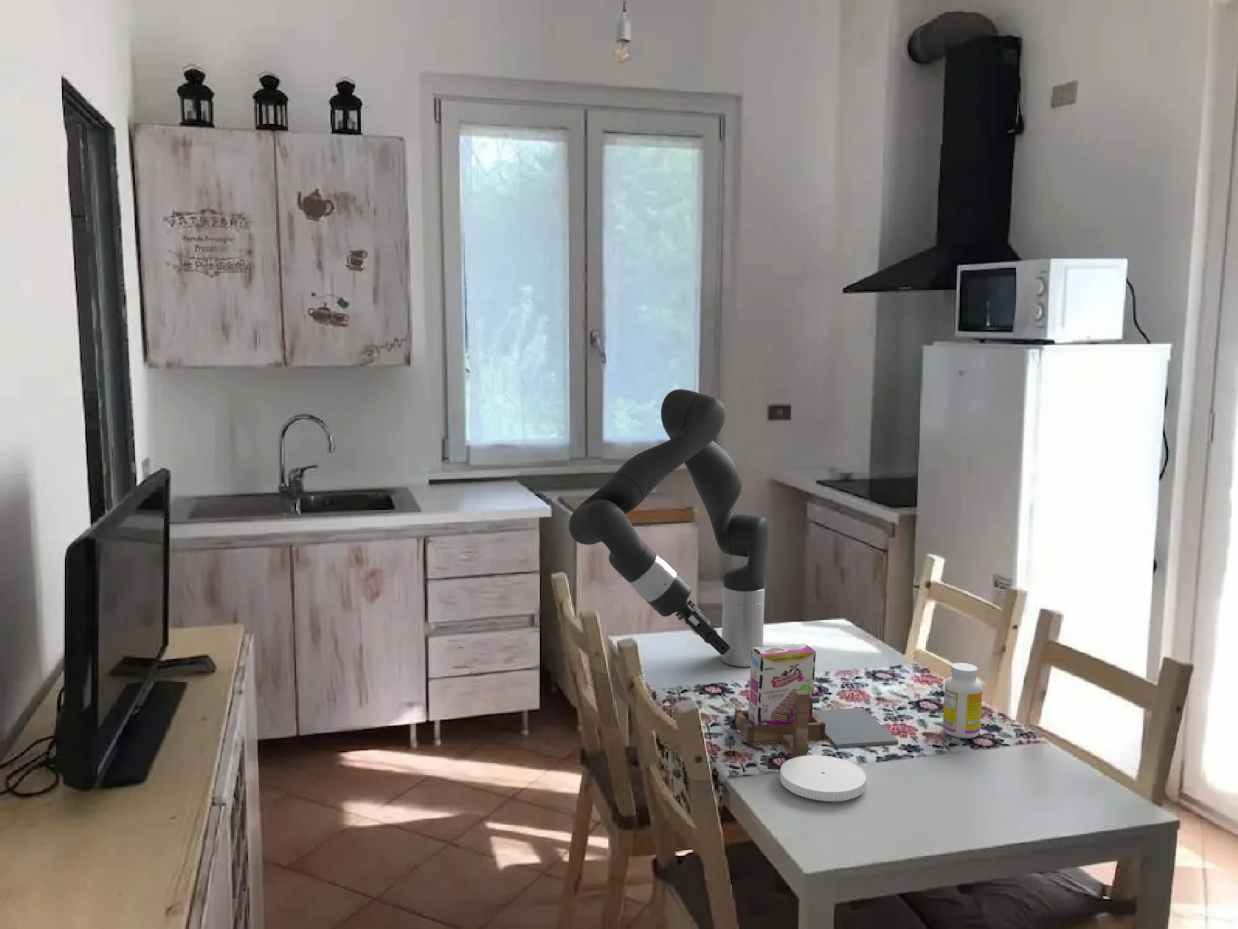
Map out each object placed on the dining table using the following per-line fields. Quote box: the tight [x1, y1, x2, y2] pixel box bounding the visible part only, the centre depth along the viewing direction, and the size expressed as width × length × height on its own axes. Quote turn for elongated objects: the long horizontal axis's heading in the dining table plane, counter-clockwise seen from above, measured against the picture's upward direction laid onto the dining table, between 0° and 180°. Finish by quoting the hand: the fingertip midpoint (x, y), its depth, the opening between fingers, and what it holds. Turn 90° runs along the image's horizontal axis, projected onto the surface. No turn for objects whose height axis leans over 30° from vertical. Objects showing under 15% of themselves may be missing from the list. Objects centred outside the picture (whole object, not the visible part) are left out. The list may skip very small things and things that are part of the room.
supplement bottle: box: [942, 662, 983, 739], centre depth 194 cm, size 7×7×13 cm
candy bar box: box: [748, 643, 817, 726], centre depth 192 cm, size 11×5×16 cm, turn 107°
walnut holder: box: [734, 690, 826, 758], centre depth 193 cm, size 24×15×12 cm, turn 10°
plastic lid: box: [779, 754, 867, 802], centre depth 172 cm, size 14×14×2 cm
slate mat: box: [812, 707, 899, 749], centre depth 196 cm, size 16×12×1 cm
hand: (719, 643), depth 189 cm, fingers open, 8 cm apart
